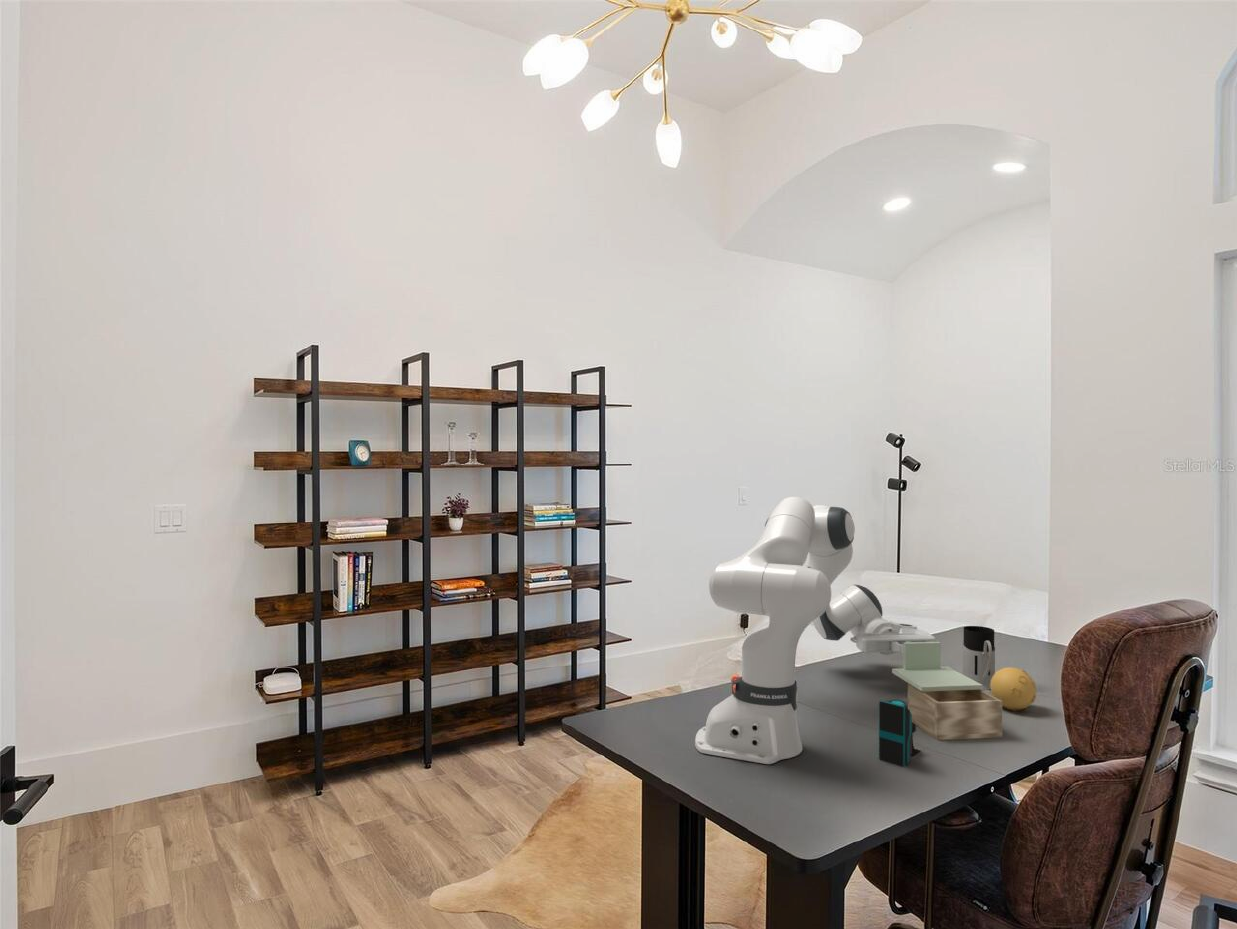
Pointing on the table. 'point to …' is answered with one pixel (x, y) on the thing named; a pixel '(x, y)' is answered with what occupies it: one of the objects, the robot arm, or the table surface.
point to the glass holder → (979, 655)
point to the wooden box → (956, 713)
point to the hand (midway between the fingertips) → (909, 650)
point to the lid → (930, 669)
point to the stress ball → (1013, 688)
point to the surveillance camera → (896, 732)
